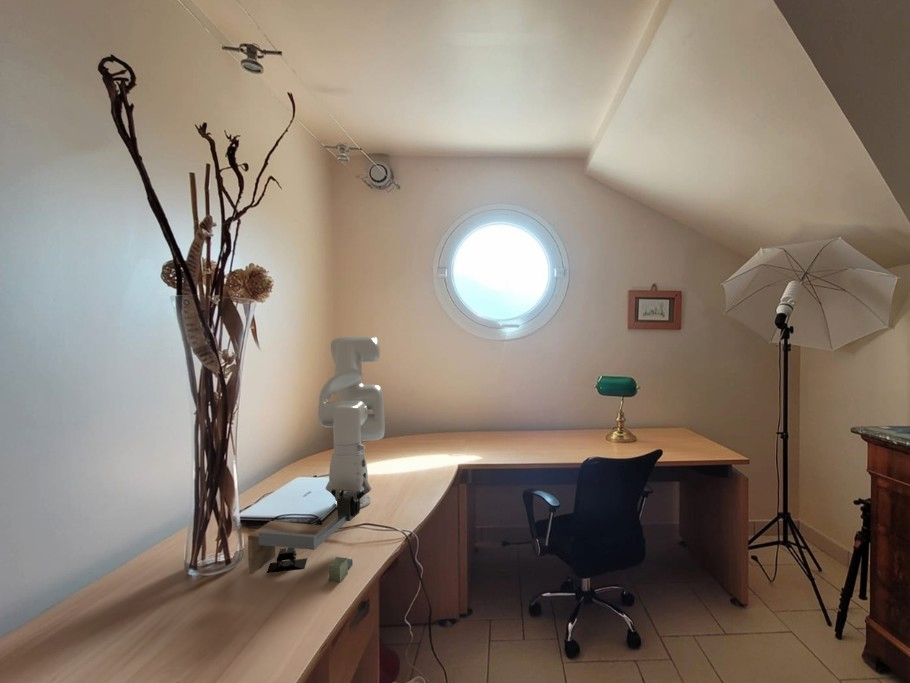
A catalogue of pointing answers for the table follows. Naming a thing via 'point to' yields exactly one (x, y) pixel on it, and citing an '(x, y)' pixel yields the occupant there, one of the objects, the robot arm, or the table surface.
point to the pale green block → (339, 569)
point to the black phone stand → (286, 562)
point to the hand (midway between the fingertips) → (348, 513)
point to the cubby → (265, 553)
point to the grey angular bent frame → (306, 539)
